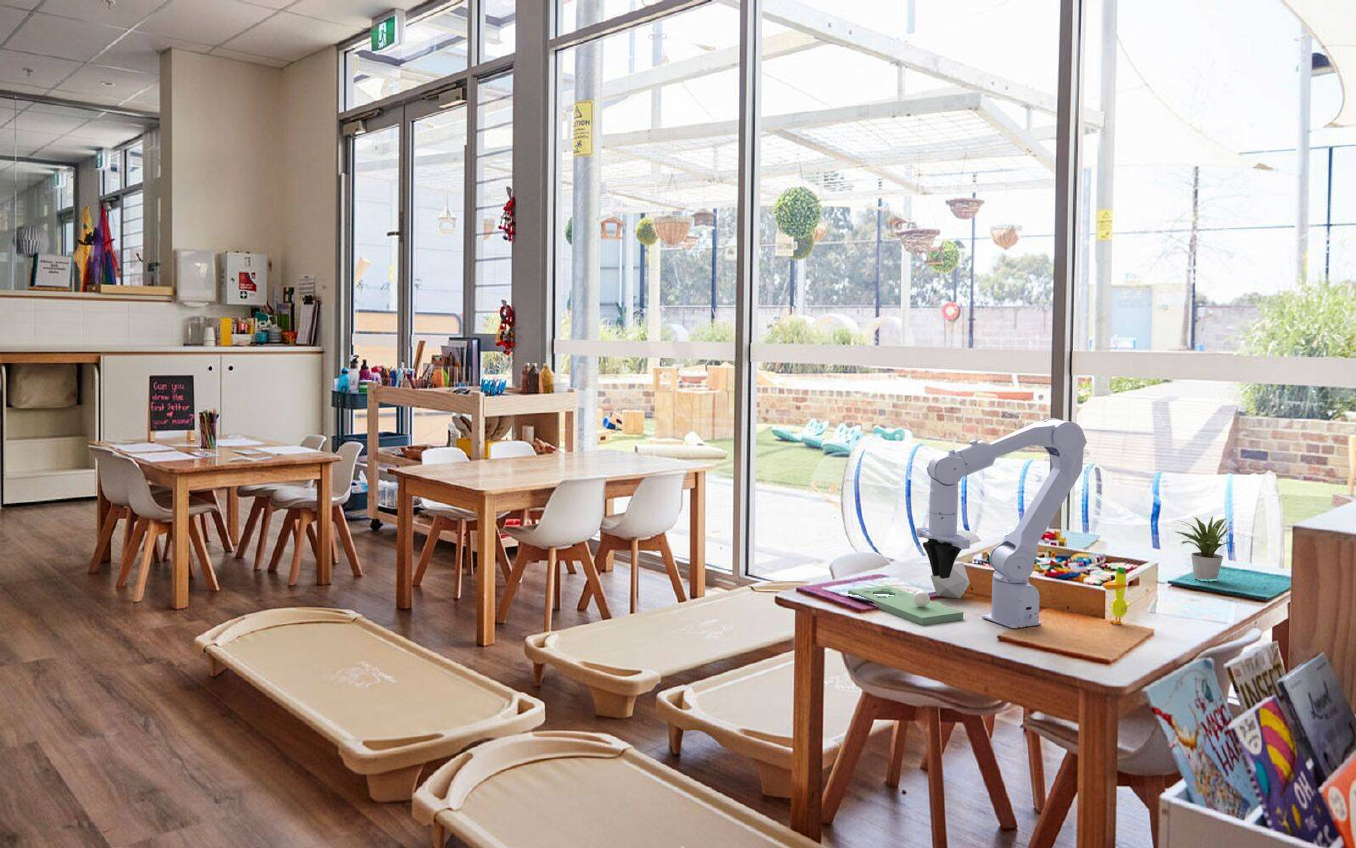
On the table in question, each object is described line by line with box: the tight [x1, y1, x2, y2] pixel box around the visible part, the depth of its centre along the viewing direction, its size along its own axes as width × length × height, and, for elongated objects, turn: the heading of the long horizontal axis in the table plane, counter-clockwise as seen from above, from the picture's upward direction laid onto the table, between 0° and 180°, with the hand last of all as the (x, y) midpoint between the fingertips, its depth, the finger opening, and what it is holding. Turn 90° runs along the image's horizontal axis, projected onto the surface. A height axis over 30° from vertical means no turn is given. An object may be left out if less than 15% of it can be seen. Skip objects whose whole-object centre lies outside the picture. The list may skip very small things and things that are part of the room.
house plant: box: [1176, 516, 1236, 580], centre depth 269 cm, size 14×14×16 cm
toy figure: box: [1101, 566, 1130, 625], centre depth 226 cm, size 7×4×12 cm, turn 106°
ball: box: [913, 590, 931, 607], centre depth 232 cm, size 4×4×4 cm
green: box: [847, 585, 964, 626], centre depth 238 cm, size 26×11×2 cm, turn 27°
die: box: [930, 561, 971, 599], centre depth 248 cm, size 8×9×10 cm
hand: (941, 576), depth 226 cm, fingers closed
